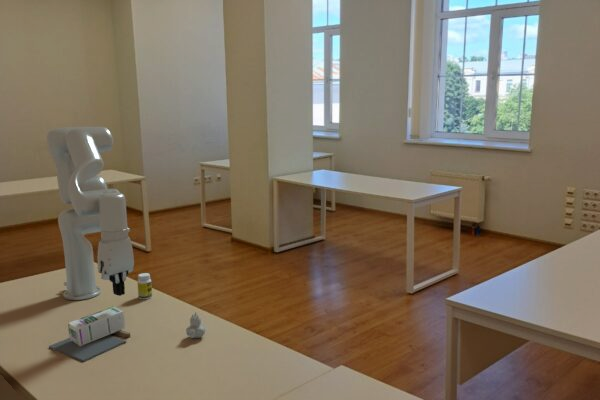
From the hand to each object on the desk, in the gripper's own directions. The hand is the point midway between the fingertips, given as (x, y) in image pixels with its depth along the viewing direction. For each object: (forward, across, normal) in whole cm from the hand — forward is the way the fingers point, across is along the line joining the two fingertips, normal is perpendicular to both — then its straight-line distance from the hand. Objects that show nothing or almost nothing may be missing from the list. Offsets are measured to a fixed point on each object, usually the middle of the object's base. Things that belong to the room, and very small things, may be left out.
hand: (119, 294), depth 166 cm
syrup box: (+8, 0, 0) cm, 8 cm away
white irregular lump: (+12, -8, +23) cm, 27 cm away
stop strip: (+12, +2, 0) cm, 12 cm away
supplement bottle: (+12, -23, -16) cm, 30 cm away
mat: (+12, +12, 0) cm, 17 cm away
